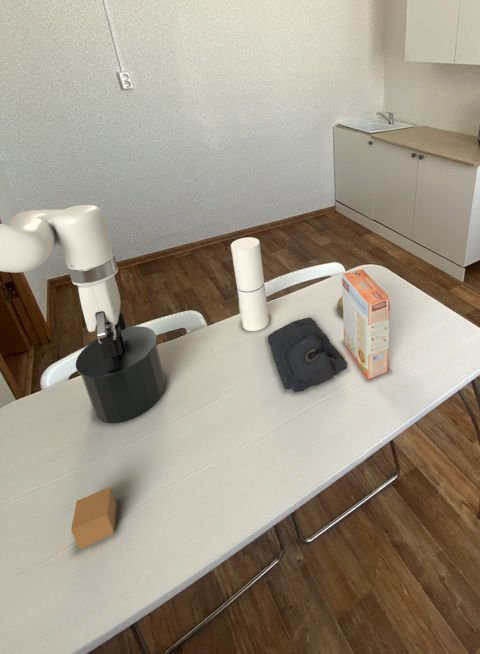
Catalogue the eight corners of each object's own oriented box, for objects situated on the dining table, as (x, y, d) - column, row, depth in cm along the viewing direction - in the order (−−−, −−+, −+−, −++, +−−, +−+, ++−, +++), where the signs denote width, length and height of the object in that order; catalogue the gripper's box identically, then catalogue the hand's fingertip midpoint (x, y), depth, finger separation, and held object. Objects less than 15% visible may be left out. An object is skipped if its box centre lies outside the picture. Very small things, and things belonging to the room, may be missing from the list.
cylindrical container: (237, 329, 105) (225, 248, 96) (250, 313, 112) (240, 236, 103) (261, 333, 104) (250, 251, 95) (273, 316, 110) (264, 238, 101)
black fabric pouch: (318, 319, 108) (317, 305, 107) (350, 373, 90) (350, 357, 88) (264, 336, 102) (262, 322, 100) (287, 398, 84) (285, 381, 82)
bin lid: (70, 391, 71) (60, 363, 69) (83, 343, 84) (75, 318, 81) (157, 364, 77) (150, 338, 75) (157, 323, 90) (151, 299, 87)
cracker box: (390, 372, 90) (391, 297, 83) (367, 381, 88) (366, 304, 80) (364, 335, 102) (363, 267, 95) (343, 342, 99) (340, 273, 92)
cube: (79, 549, 58) (70, 530, 57) (84, 519, 62) (76, 500, 60) (114, 533, 60) (107, 514, 58) (117, 505, 64) (110, 486, 62)
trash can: (90, 434, 76) (73, 386, 72) (99, 385, 88) (85, 341, 83) (166, 407, 82) (154, 361, 77) (165, 365, 93) (154, 323, 89)
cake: (331, 317, 110) (329, 301, 109) (346, 299, 119) (345, 283, 117) (362, 324, 106) (360, 307, 104) (376, 304, 114) (374, 288, 113)
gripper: (78, 253, 79) (99, 323, 85) (60, 297, 65) (88, 378, 71) (120, 246, 82) (138, 314, 88) (112, 286, 68) (134, 364, 74)
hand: (115, 342), depth 79 cm, fingers open, 7 cm apart
